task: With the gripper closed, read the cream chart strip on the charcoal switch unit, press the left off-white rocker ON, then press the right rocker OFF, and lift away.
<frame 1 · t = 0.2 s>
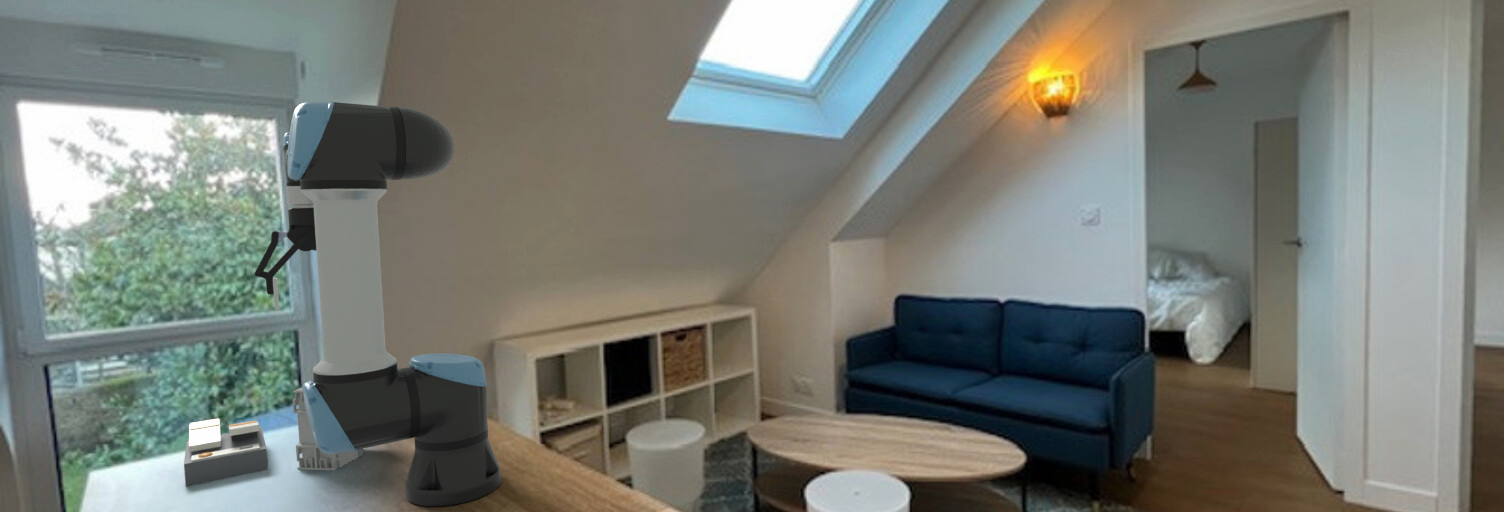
hand: (315, 306, 149), 28 cm above the table, fingers open, 13 cm apart
switch unit: (227, 464, 134), on the table
rocker right: (243, 427, 136), point 6 cm above the table, hinge at 10.0°
rocker left: (205, 434, 133), point 6 cm above the table, hinge at -10.0°
circuit breaker: (342, 456, 137), on the table
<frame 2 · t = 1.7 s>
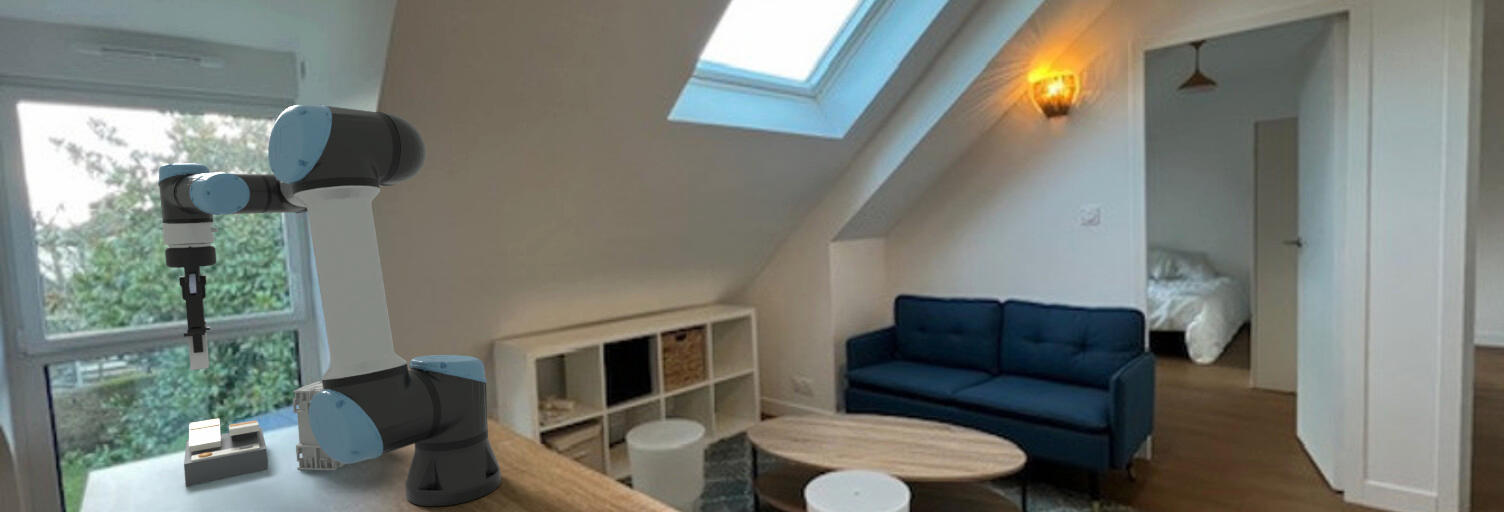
hand: (200, 366, 135), 19 cm above the table, fingers open, 3 cm apart
nothing on the table moved.
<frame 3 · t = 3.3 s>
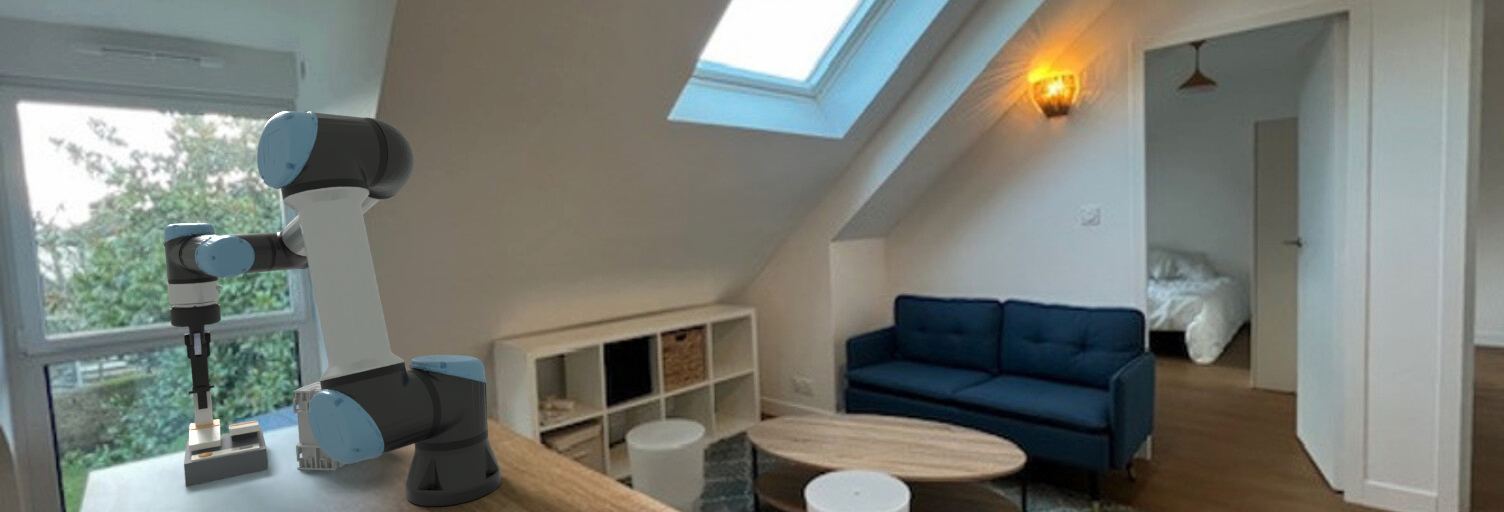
hand: (204, 423, 136), 7 cm above the table, fingers closed
rocker left: (205, 434, 133), point 6 cm above the table, hinge at -8.2°, touching gripper
everything else where it was.
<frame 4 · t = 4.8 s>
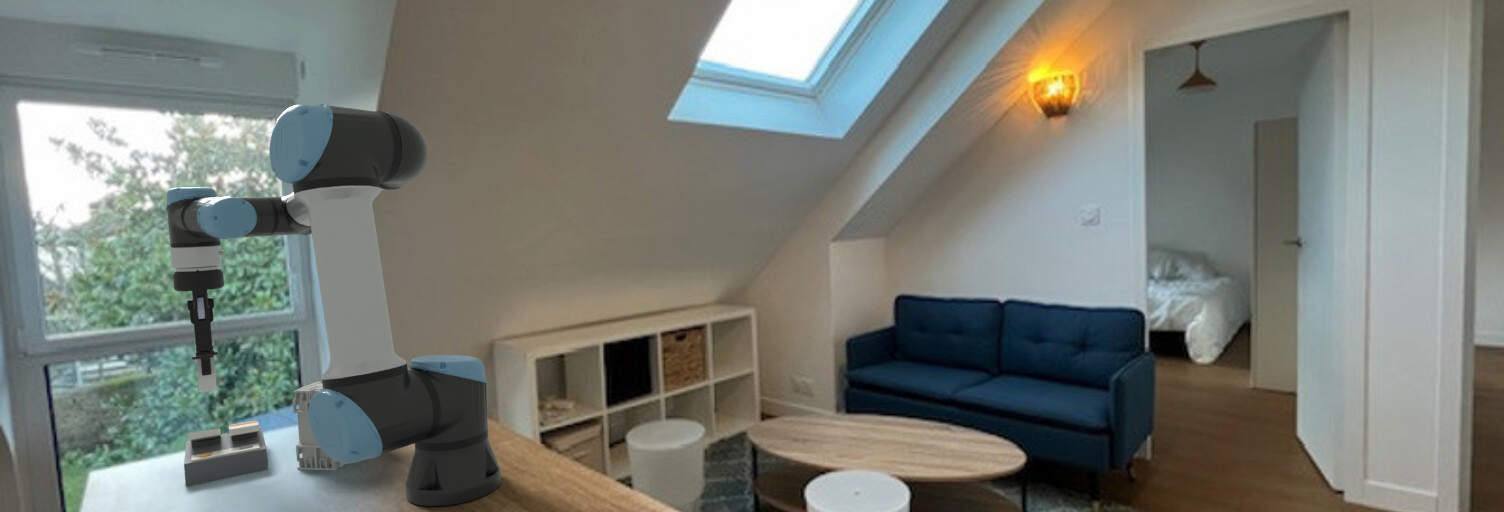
hand: (208, 390, 135), 14 cm above the table, fingers closed
rocker left: (205, 434, 133), point 6 cm above the table, hinge at 16.5°
everything else where it was.
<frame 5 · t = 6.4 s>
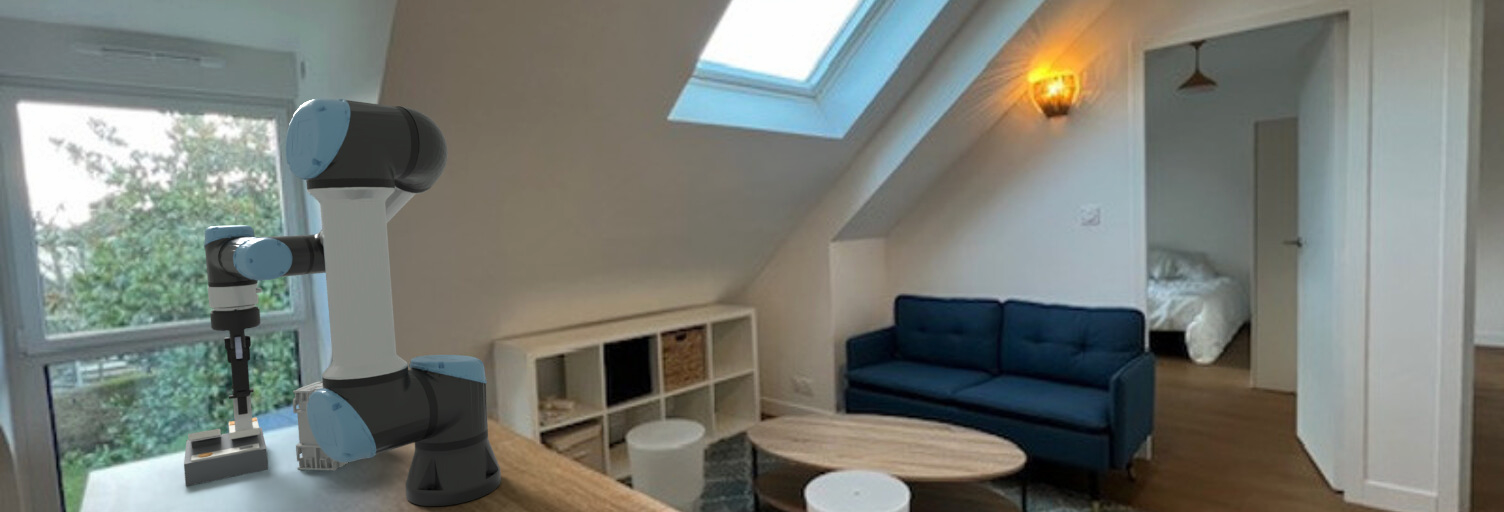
hand: (243, 428, 134), 7 cm above the table, fingers closed
rocker right: (243, 427, 136), point 6 cm above the table, hinge at 2.5°, touching gripper
rocker left: (205, 434, 133), point 6 cm above the table, hinge at 15.6°
everything else where it was.
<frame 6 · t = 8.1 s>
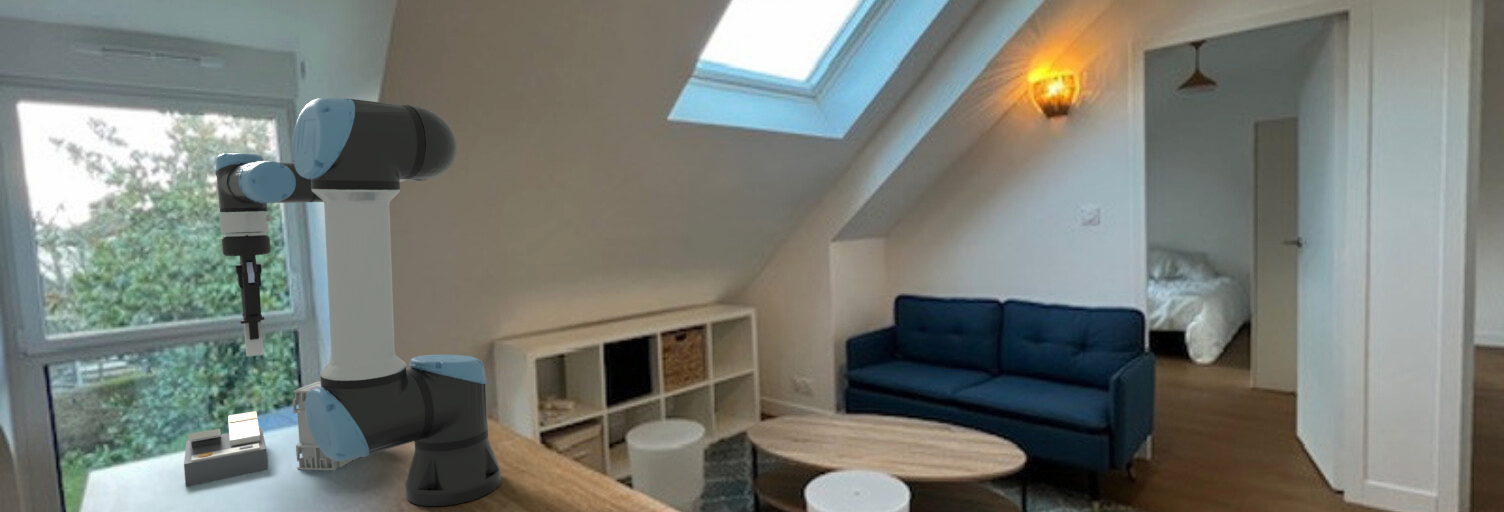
hand: (255, 354, 136), 20 cm above the table, fingers closed
rocker right: (243, 427, 136), point 6 cm above the table, hinge at -13.2°
everything else where it was.
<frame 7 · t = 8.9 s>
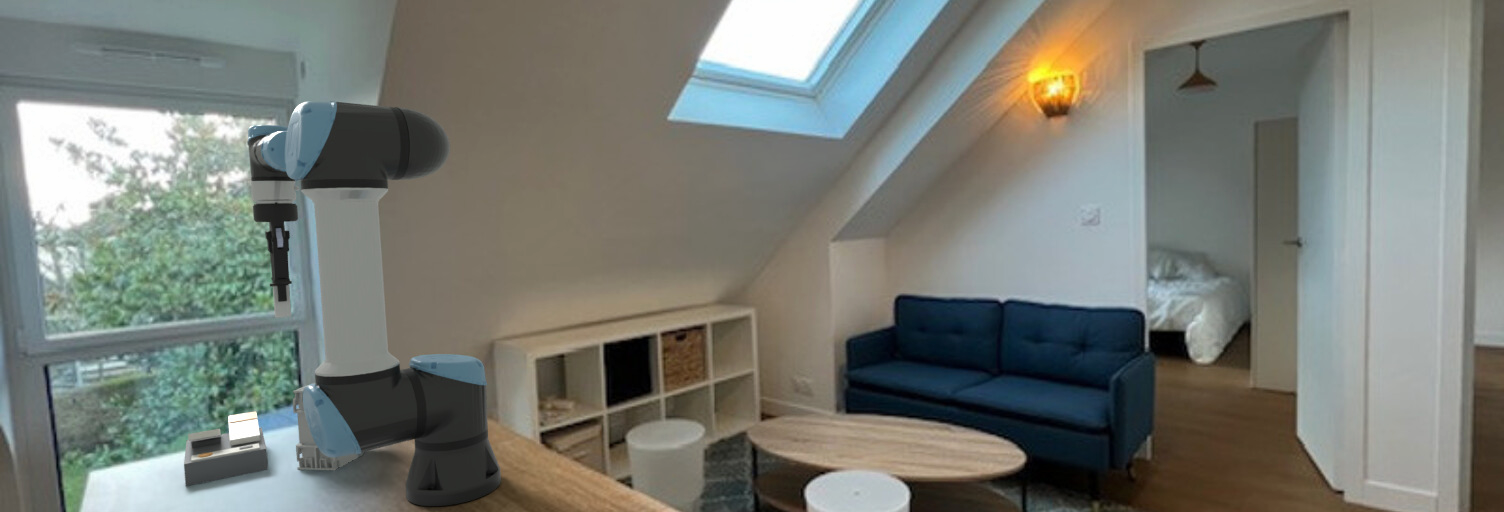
hand: (283, 316, 144), 26 cm above the table, fingers closed
rocker right: (243, 427, 136), point 6 cm above the table, hinge at -12.8°
everything else where it was.
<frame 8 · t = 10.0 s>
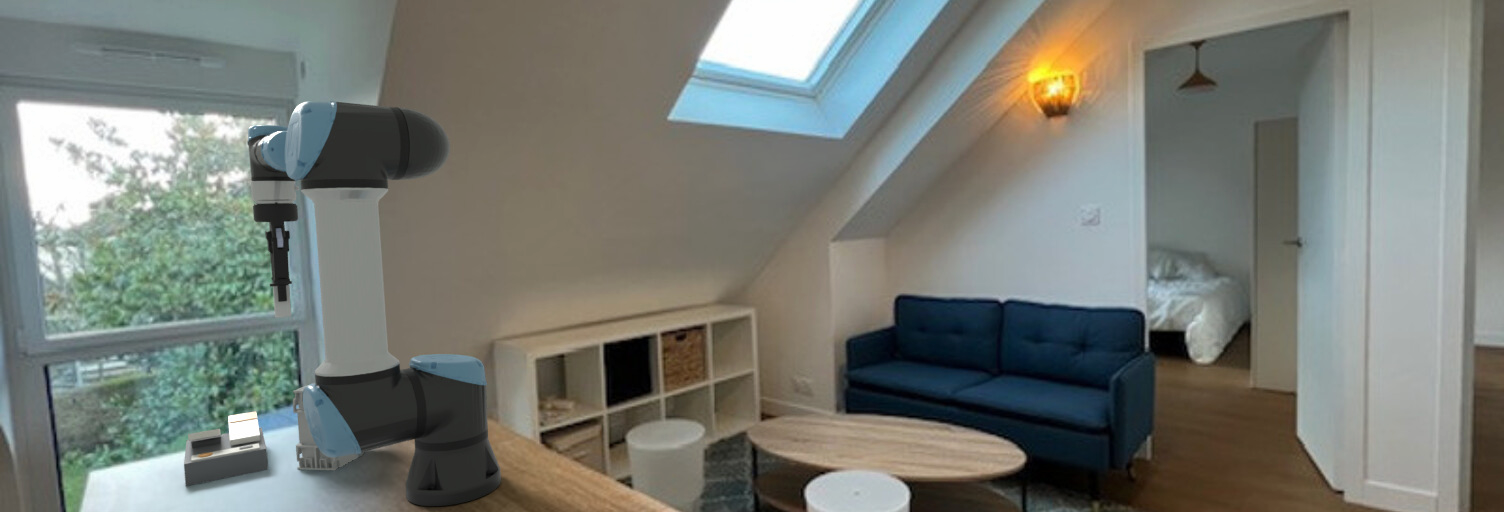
hand: (283, 316, 144), 26 cm above the table, fingers closed
nothing on the table moved.
at the end: rocker left at +16° (first picture: -10°); rocker right at -13° (first picture: +10°) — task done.
